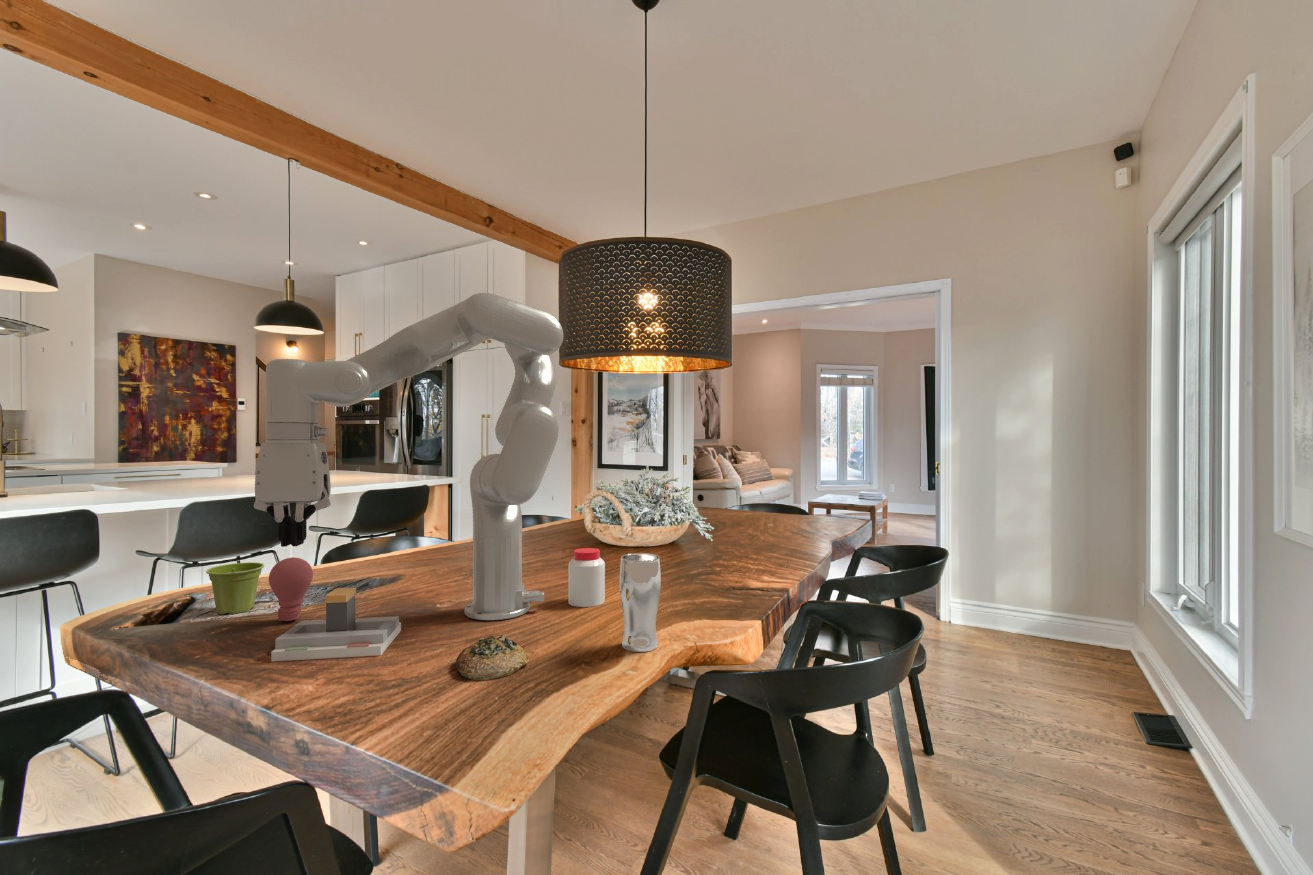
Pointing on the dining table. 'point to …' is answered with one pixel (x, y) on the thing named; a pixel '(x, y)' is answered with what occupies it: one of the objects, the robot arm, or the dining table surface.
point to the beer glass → (640, 600)
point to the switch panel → (334, 651)
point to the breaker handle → (340, 610)
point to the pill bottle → (586, 578)
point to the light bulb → (290, 586)
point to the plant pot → (235, 586)
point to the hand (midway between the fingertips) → (292, 544)
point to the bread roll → (491, 658)
